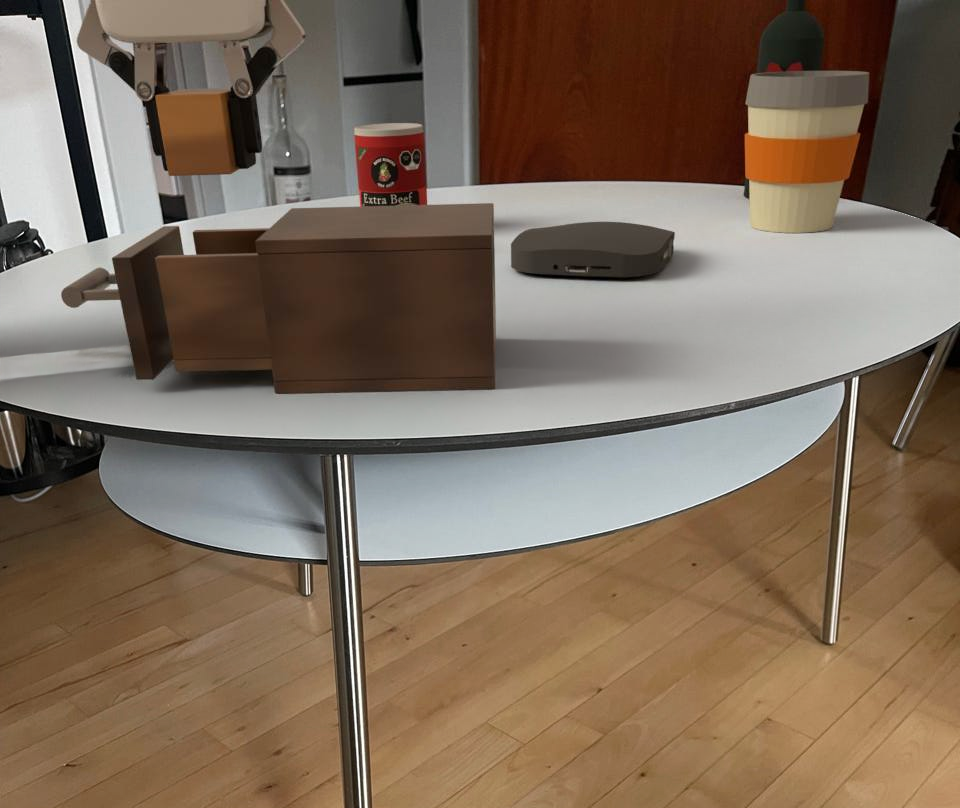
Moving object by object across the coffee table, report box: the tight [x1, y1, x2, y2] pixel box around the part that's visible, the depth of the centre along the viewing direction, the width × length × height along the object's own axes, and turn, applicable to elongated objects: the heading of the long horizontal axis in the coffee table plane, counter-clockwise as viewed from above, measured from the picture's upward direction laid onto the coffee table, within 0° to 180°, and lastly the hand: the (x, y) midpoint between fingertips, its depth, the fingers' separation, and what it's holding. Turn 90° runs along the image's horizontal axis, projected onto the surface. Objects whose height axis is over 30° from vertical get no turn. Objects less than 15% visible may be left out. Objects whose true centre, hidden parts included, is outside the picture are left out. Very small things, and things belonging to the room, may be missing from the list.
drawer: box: [60, 225, 272, 381], centre depth 71 cm, size 18×11×8 cm, turn 89°
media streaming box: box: [510, 221, 676, 279], centre depth 100 cm, size 15×15×3 cm
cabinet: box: [255, 202, 497, 394], centre depth 71 cm, size 15×13×10 cm
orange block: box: [155, 87, 240, 177], centre depth 66 cm, size 6×4×4 cm, turn 179°
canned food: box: [353, 122, 428, 207], centre depth 116 cm, size 8×8×11 cm
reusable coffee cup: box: [744, 70, 870, 234], centre depth 111 cm, size 13×13×15 cm
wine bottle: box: [743, 0, 826, 199], centre depth 125 cm, size 8×10×30 cm
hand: (210, 164), depth 67 cm, fingers closed on orange block, 4 cm apart
